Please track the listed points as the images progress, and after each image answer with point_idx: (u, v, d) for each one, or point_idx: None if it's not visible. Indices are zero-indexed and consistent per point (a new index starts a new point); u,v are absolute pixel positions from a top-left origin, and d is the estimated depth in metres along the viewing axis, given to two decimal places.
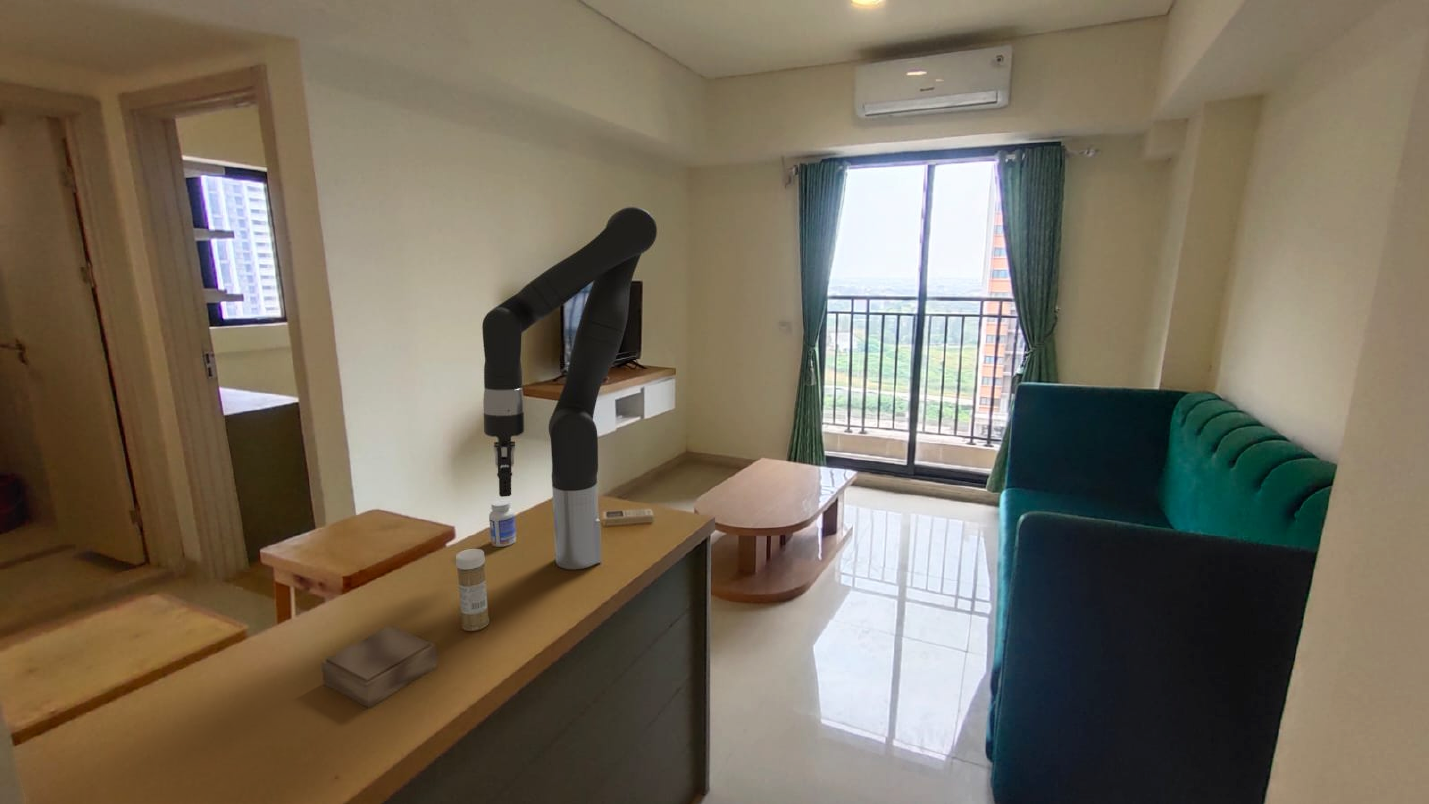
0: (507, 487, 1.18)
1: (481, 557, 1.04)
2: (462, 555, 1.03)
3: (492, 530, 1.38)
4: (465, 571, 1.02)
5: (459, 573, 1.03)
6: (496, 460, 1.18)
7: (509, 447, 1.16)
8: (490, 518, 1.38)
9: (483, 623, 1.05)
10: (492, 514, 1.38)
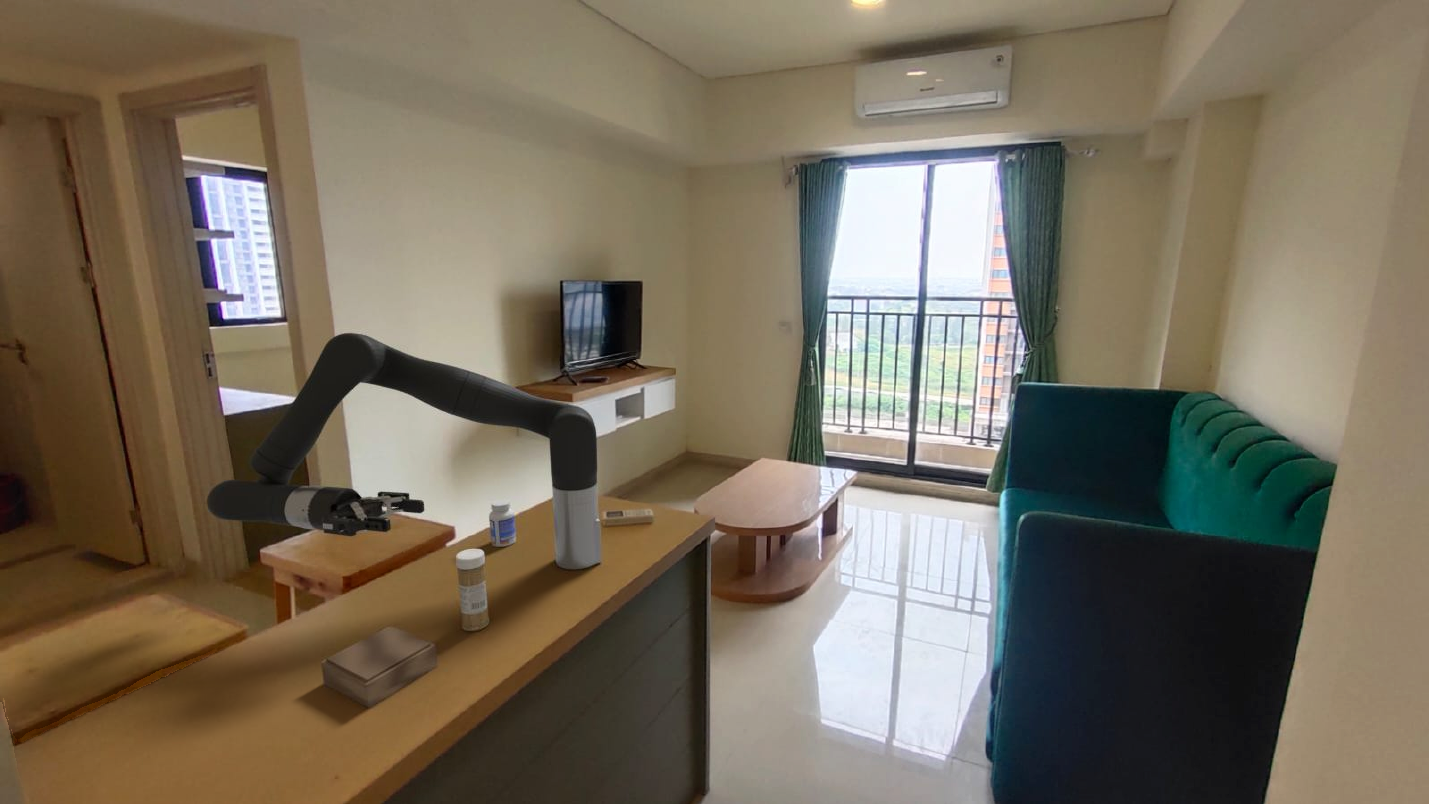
0: (373, 524, 0.99)
1: (481, 557, 1.04)
2: (462, 555, 1.03)
3: (492, 530, 1.38)
4: (465, 571, 1.02)
5: (459, 573, 1.03)
6: None
7: (322, 519, 0.99)
8: (490, 518, 1.38)
9: (483, 623, 1.05)
10: (492, 514, 1.38)
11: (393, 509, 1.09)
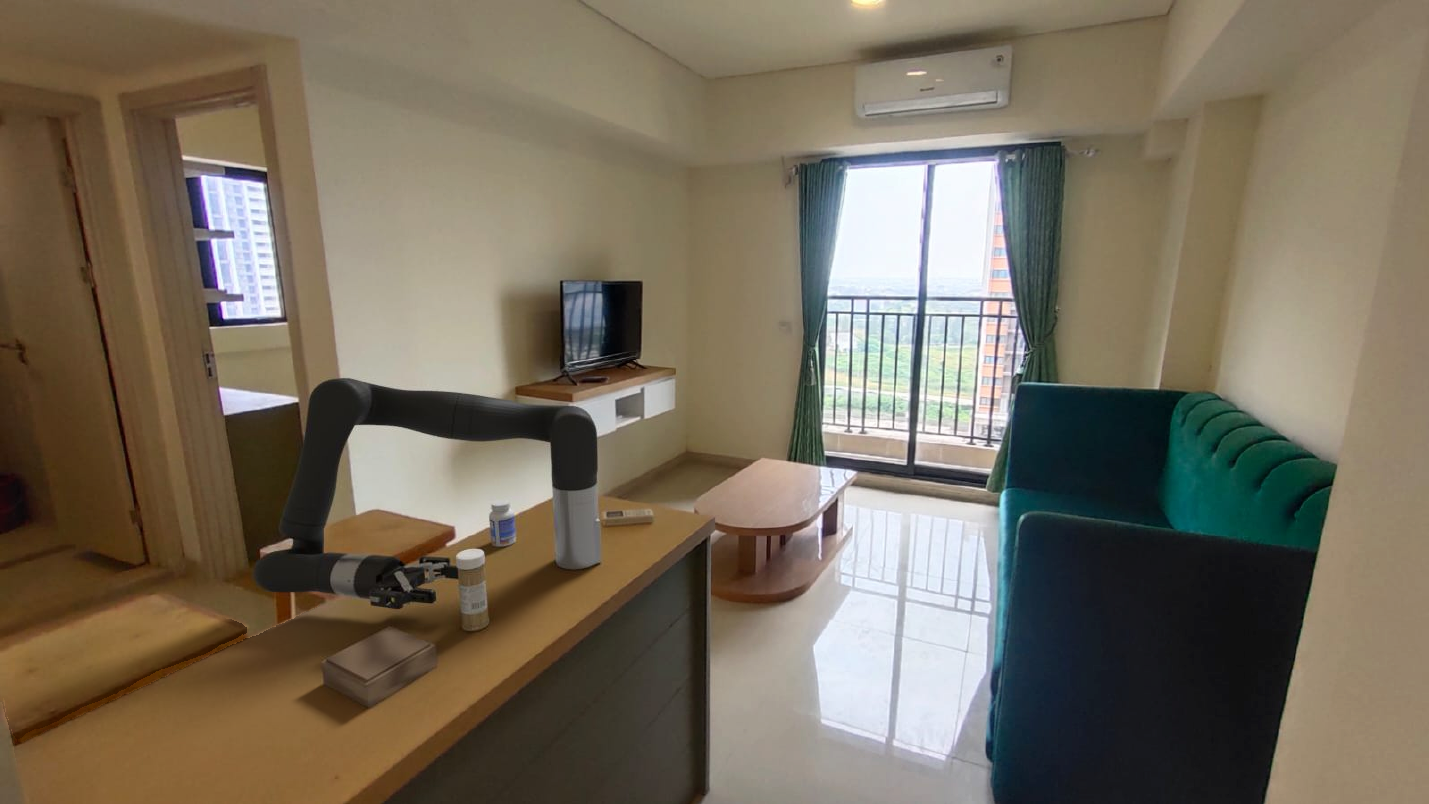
0: (419, 596, 1.01)
1: (481, 558, 1.04)
2: (462, 555, 1.03)
3: (492, 530, 1.38)
4: (465, 571, 1.02)
5: (459, 573, 1.03)
6: None
7: None
8: (490, 518, 1.38)
9: (483, 623, 1.05)
10: (492, 514, 1.38)
11: (435, 575, 1.11)
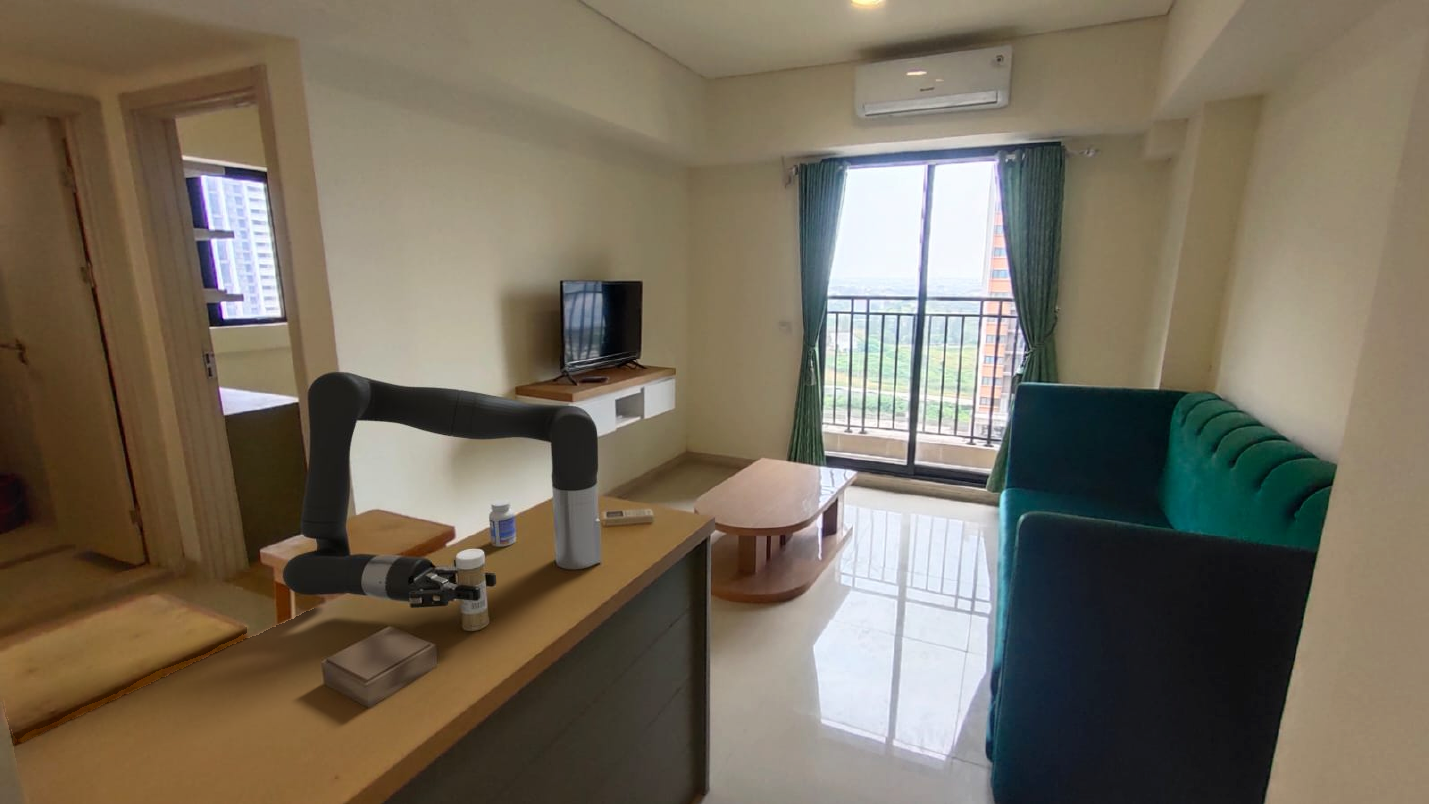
0: (464, 593, 1.02)
1: (481, 557, 1.04)
2: (462, 555, 1.03)
3: (492, 530, 1.38)
4: (465, 571, 1.02)
5: (459, 573, 1.03)
6: (440, 598, 1.04)
7: (409, 595, 1.00)
8: (490, 518, 1.38)
9: (483, 623, 1.05)
10: (492, 514, 1.38)
11: None
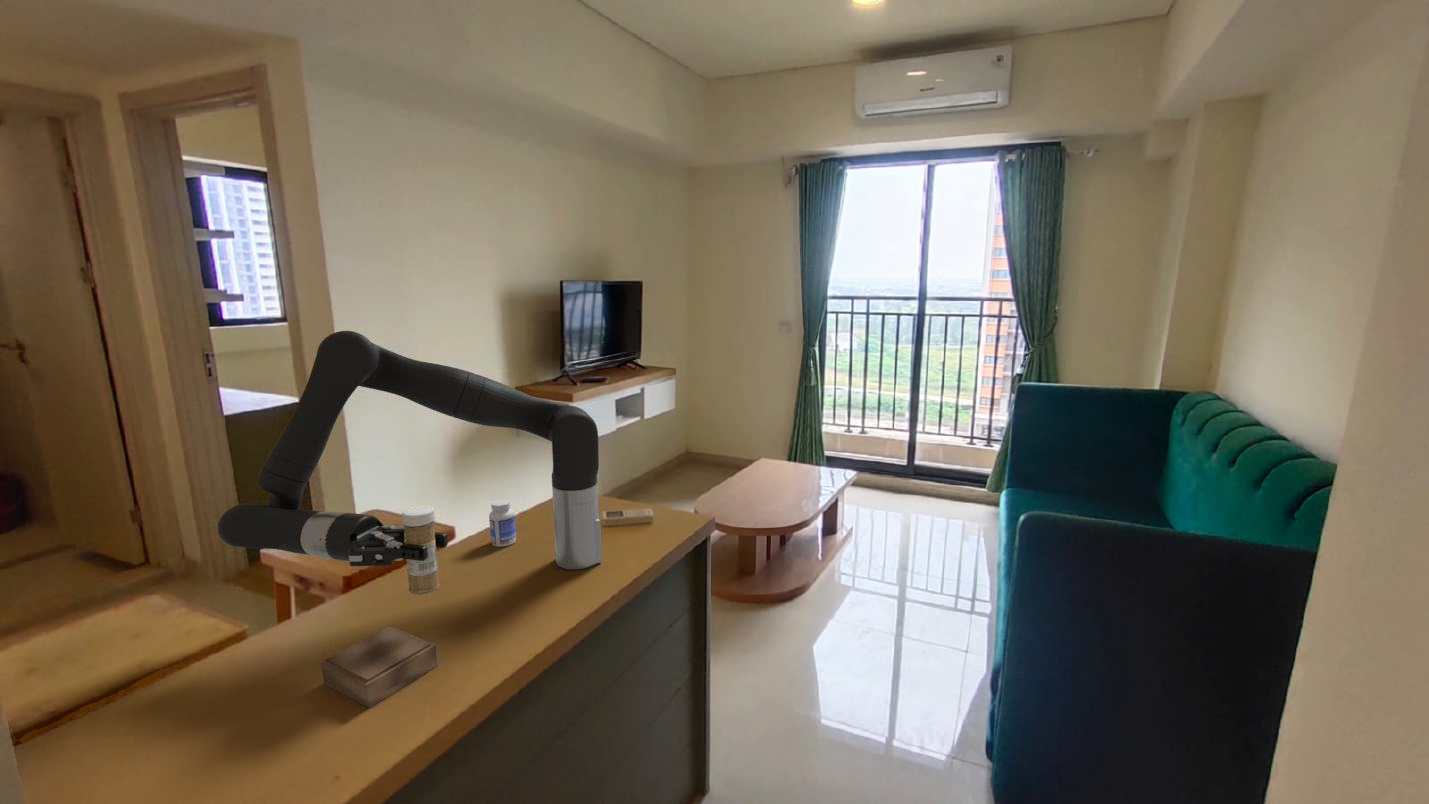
0: (410, 552, 0.93)
1: (430, 514, 0.95)
2: (409, 511, 0.95)
3: (492, 530, 1.38)
4: (412, 528, 0.94)
5: (405, 530, 0.95)
6: None
7: (349, 552, 0.92)
8: (490, 518, 1.38)
9: (431, 586, 0.97)
10: (492, 514, 1.38)
11: None
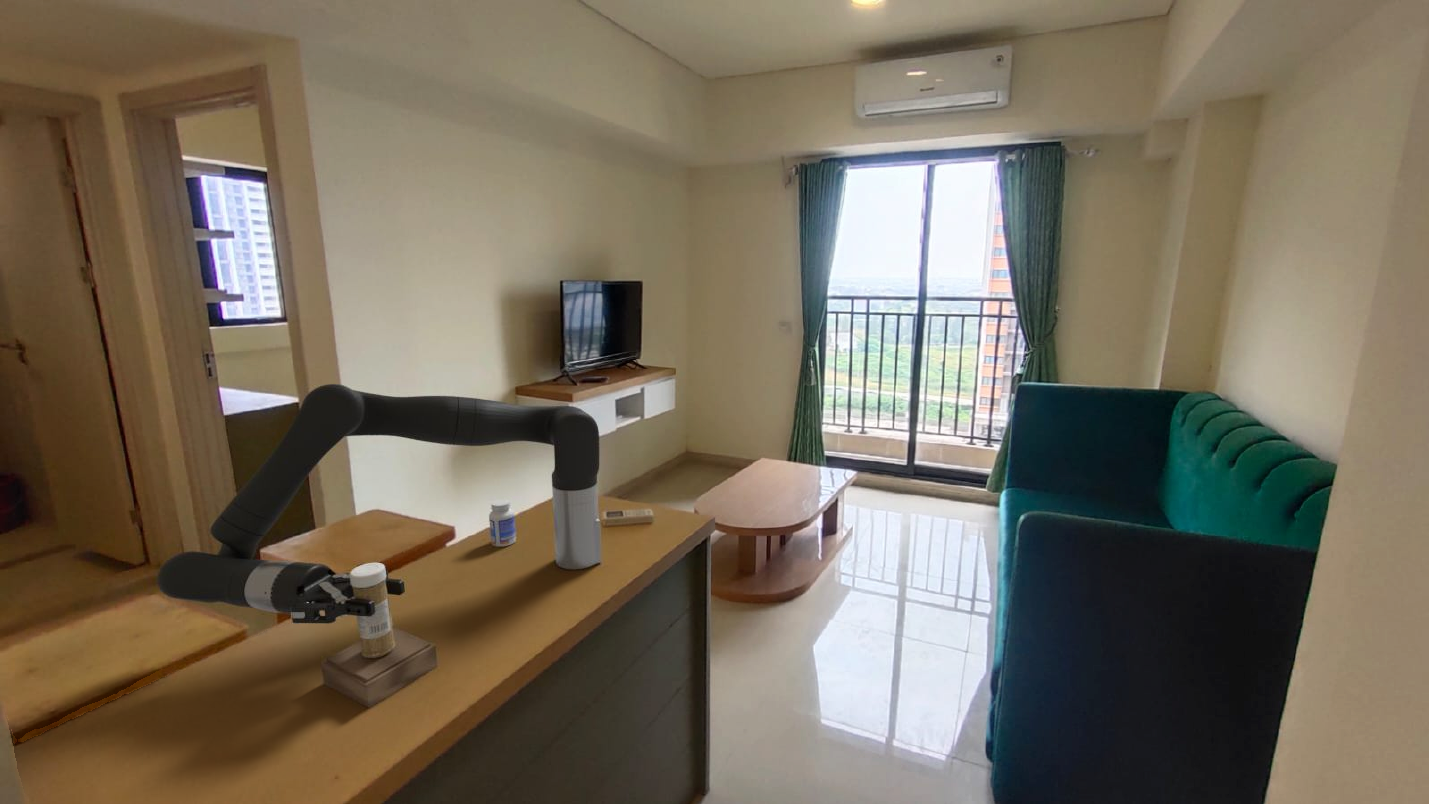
0: (355, 608, 0.87)
1: (379, 573, 0.89)
2: (357, 571, 0.89)
3: (492, 530, 1.38)
4: (360, 590, 0.88)
5: (354, 592, 0.89)
6: None
7: (290, 608, 0.86)
8: (490, 518, 1.38)
9: (385, 648, 0.91)
10: (492, 514, 1.38)
11: None
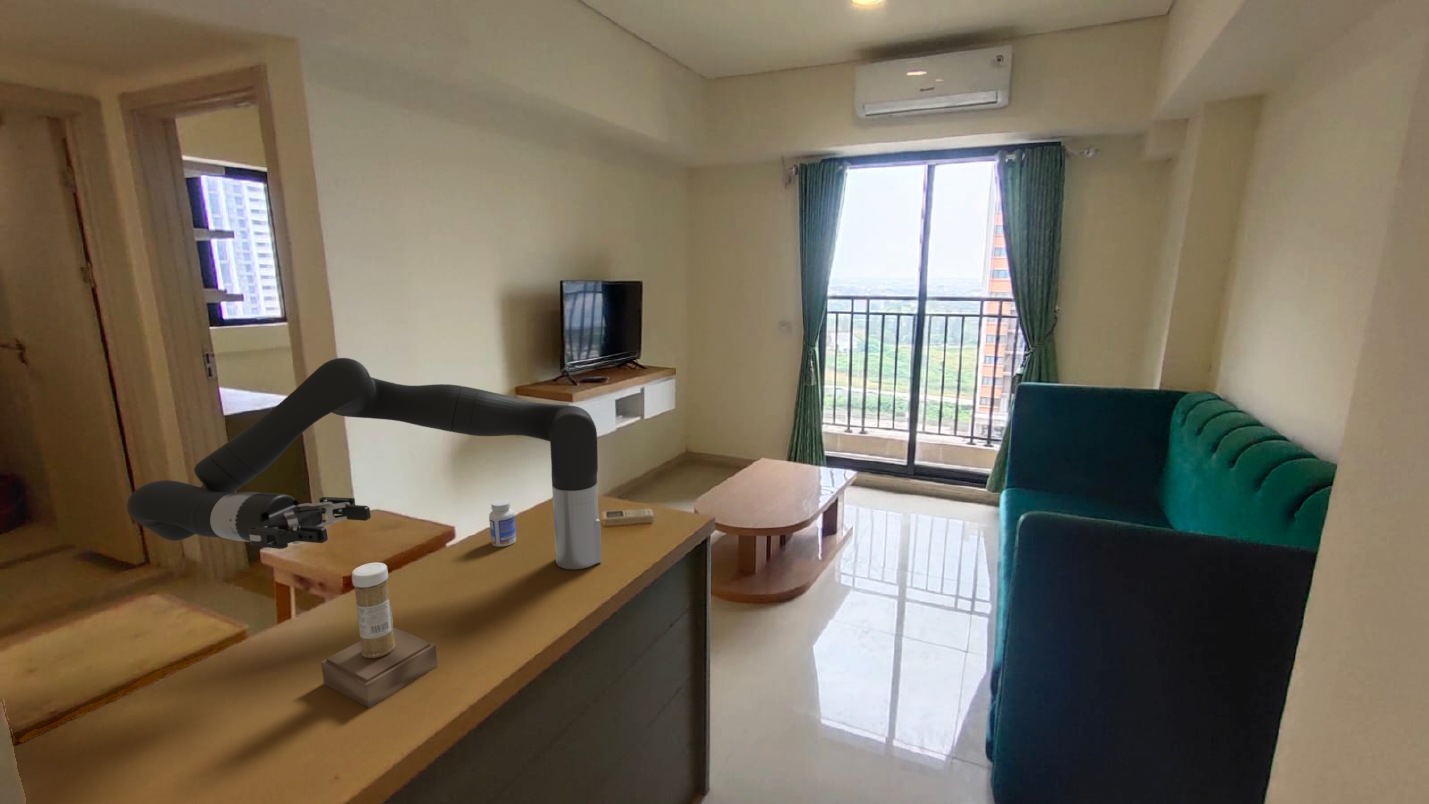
0: (307, 534, 0.87)
1: (382, 573, 0.89)
2: (359, 570, 0.89)
3: (492, 530, 1.38)
4: (362, 589, 0.88)
5: (356, 591, 0.89)
6: None
7: None
8: (490, 518, 1.38)
9: (385, 648, 0.91)
10: (492, 514, 1.38)
11: (336, 516, 0.97)
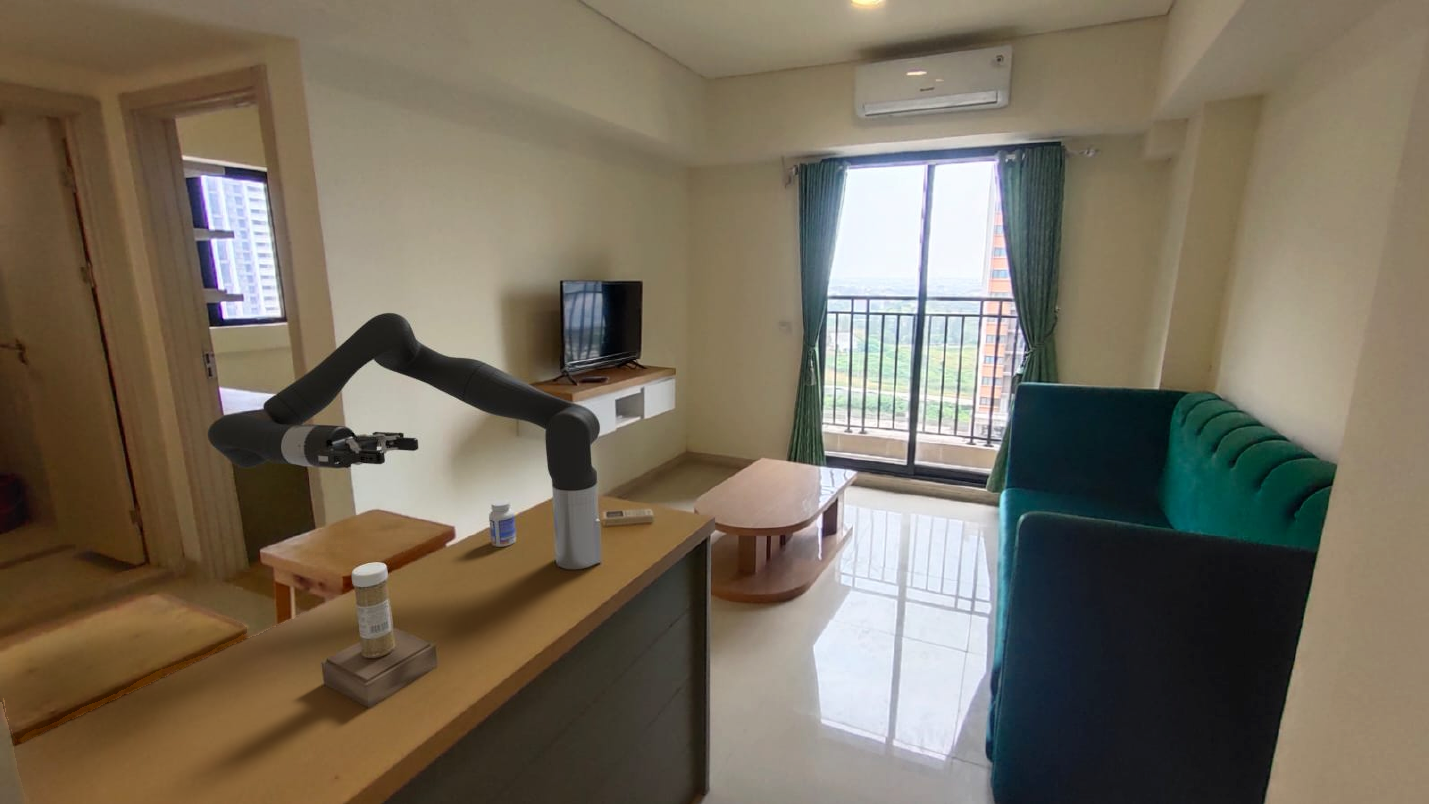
0: (367, 456, 1.01)
1: (381, 573, 0.89)
2: (359, 570, 0.89)
3: (492, 530, 1.38)
4: (362, 589, 0.88)
5: (355, 591, 0.89)
6: None
7: (318, 452, 1.01)
8: (490, 518, 1.38)
9: (385, 648, 0.91)
10: (492, 514, 1.38)
11: (388, 447, 1.11)
